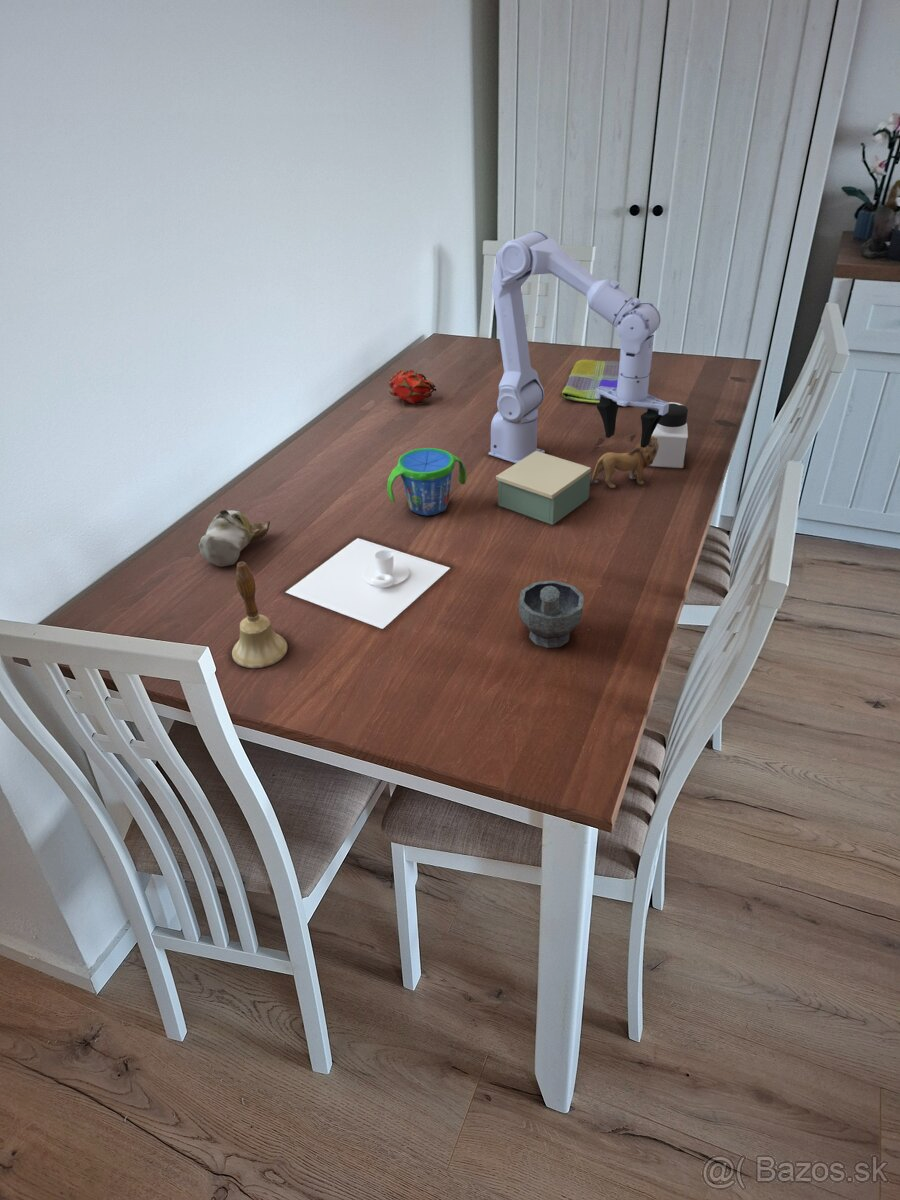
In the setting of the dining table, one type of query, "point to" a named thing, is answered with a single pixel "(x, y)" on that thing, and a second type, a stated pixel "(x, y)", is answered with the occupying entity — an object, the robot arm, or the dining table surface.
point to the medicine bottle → (672, 437)
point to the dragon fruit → (410, 386)
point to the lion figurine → (627, 462)
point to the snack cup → (426, 479)
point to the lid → (543, 474)
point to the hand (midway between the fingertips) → (627, 440)
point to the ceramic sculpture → (229, 537)
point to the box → (544, 500)
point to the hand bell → (255, 629)
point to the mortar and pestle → (550, 611)
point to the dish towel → (590, 379)
